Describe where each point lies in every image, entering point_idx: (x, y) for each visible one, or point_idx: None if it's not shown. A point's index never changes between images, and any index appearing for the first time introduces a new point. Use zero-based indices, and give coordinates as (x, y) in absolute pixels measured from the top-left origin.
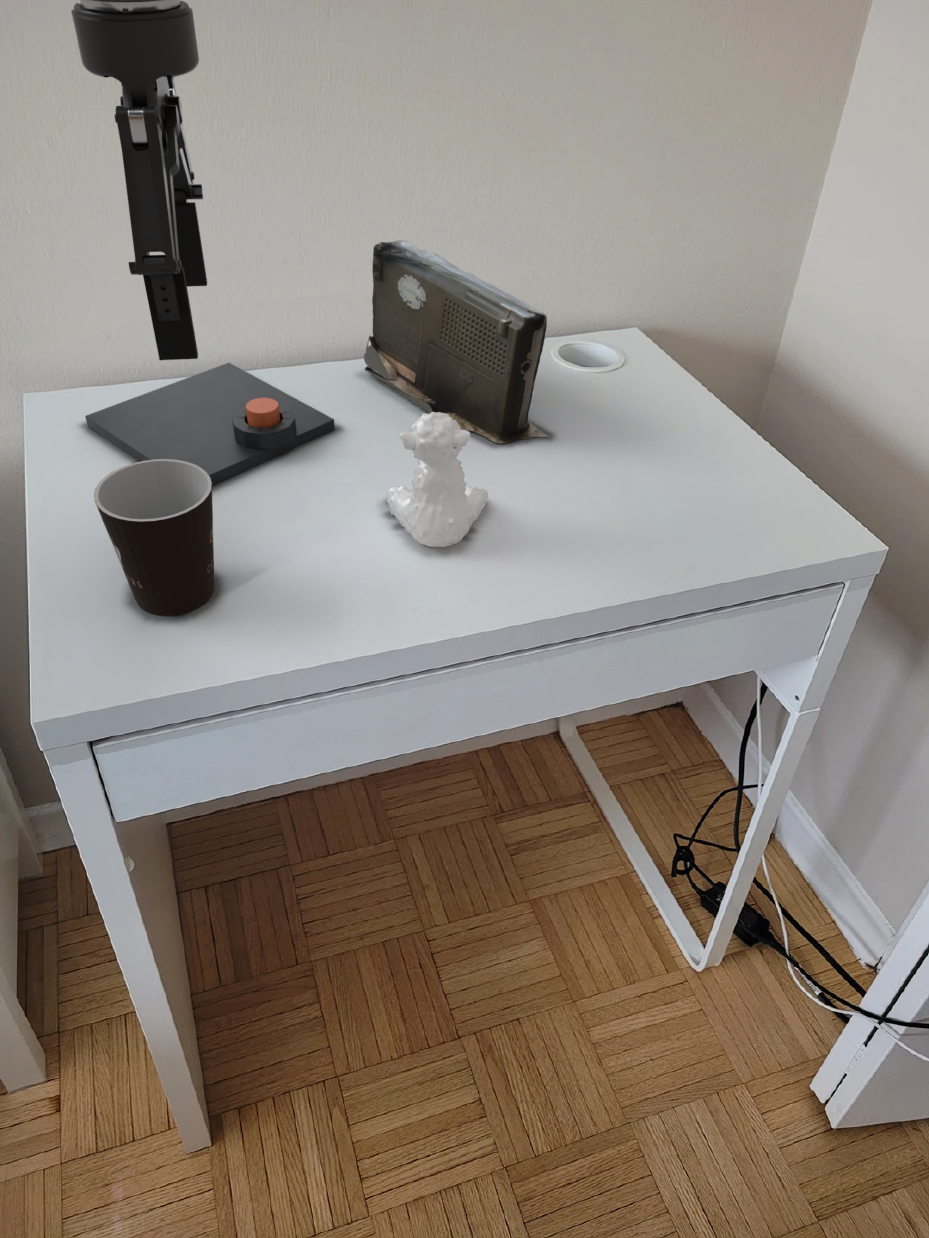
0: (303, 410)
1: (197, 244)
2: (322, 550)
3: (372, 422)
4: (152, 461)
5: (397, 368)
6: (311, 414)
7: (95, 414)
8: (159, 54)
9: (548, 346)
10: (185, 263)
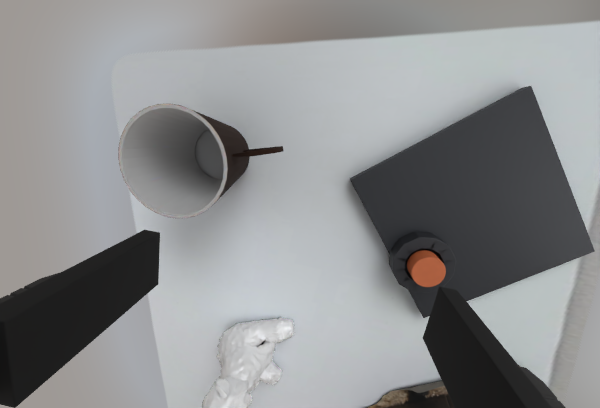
0: None
1: (456, 402)
2: (248, 261)
3: (421, 341)
4: (224, 166)
5: None
6: None
7: (529, 97)
8: None
9: None
10: (449, 341)
